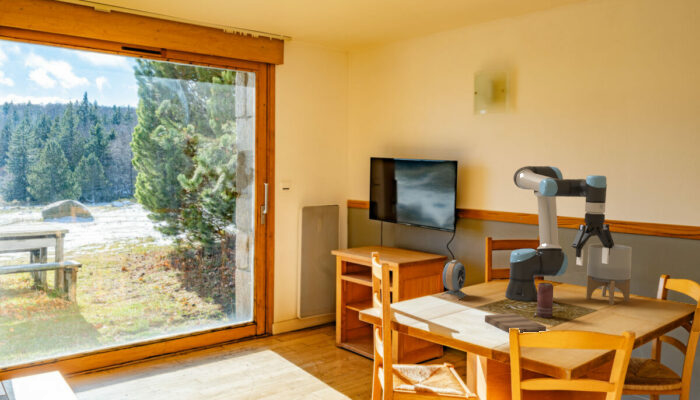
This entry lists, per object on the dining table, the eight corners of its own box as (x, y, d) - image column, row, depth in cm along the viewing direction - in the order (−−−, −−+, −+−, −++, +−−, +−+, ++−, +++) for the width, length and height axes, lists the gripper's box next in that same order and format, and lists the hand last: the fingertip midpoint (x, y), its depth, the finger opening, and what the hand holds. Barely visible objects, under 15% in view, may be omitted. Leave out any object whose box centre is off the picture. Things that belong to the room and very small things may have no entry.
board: (484, 321, 222) (484, 315, 222) (514, 318, 226) (514, 313, 226) (518, 337, 201) (518, 331, 200) (550, 334, 205) (550, 328, 205)
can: (533, 315, 233) (534, 282, 232) (545, 314, 235) (546, 281, 234) (543, 318, 227) (544, 285, 226) (555, 317, 229) (556, 284, 229)
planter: (590, 303, 256) (592, 248, 255) (583, 294, 275) (585, 242, 273) (634, 306, 252) (636, 250, 250) (623, 297, 270) (626, 244, 269)
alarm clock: (457, 300, 257) (459, 263, 256) (438, 297, 262) (439, 261, 261) (468, 294, 269) (469, 259, 268) (449, 292, 274) (450, 257, 273)
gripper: (578, 214, 216) (575, 267, 217) (625, 213, 225) (622, 264, 226) (564, 212, 223) (561, 264, 224) (610, 211, 232) (608, 261, 233)
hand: (592, 264), depth 225 cm, fingers open, 13 cm apart
